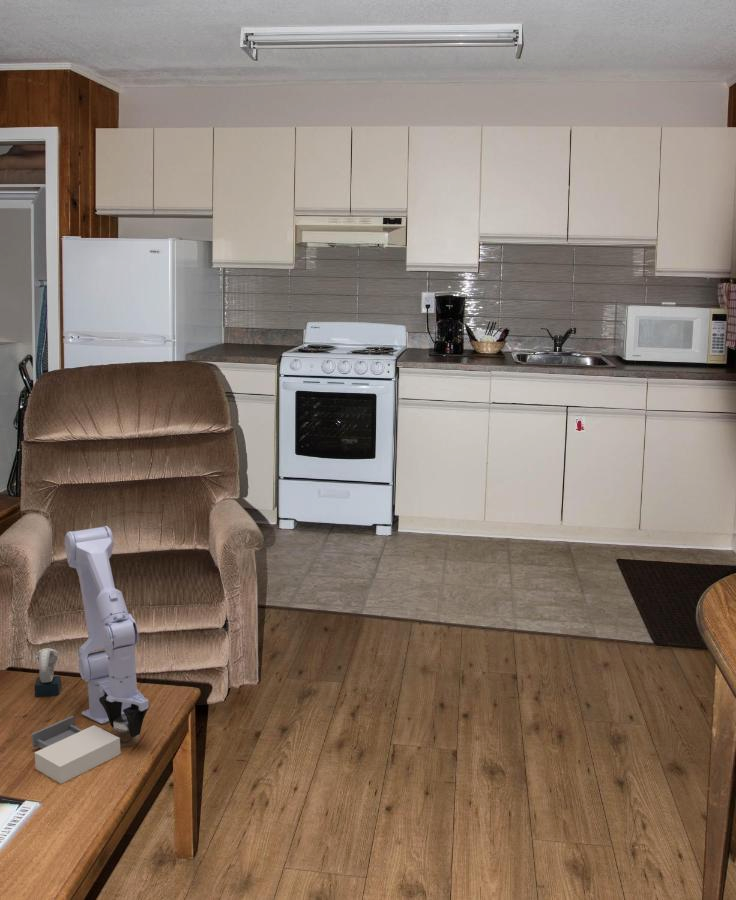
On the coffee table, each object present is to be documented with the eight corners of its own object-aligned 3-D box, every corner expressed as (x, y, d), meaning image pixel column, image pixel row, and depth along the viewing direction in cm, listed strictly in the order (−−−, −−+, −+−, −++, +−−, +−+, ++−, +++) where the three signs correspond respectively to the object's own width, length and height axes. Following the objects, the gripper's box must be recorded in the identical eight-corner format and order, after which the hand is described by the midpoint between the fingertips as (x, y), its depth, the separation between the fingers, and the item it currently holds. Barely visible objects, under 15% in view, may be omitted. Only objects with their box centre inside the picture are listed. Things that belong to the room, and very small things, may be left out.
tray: (32, 747, 206) (31, 733, 205) (73, 728, 214) (72, 715, 213) (56, 760, 200) (55, 747, 200) (97, 740, 208) (96, 727, 208)
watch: (62, 684, 237) (59, 642, 235) (57, 698, 229) (54, 656, 227) (39, 685, 236) (36, 644, 234) (33, 700, 228) (30, 658, 226)
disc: (127, 718, 213) (127, 712, 212) (141, 725, 210) (141, 719, 209) (108, 727, 209) (108, 721, 208) (123, 734, 206) (122, 728, 205)
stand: (128, 732, 214) (127, 717, 213) (144, 740, 210) (143, 725, 210) (107, 742, 209) (107, 727, 209) (123, 750, 206) (123, 735, 205)
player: (35, 768, 199) (33, 752, 198) (94, 740, 210) (93, 724, 209) (61, 783, 193) (60, 766, 192) (120, 754, 205) (119, 737, 204)
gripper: (86, 670, 208) (90, 727, 211) (128, 689, 199) (131, 748, 202) (113, 659, 213) (116, 715, 216) (155, 677, 204) (157, 735, 207)
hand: (125, 730), depth 209 cm, fingers open, 6 cm apart
